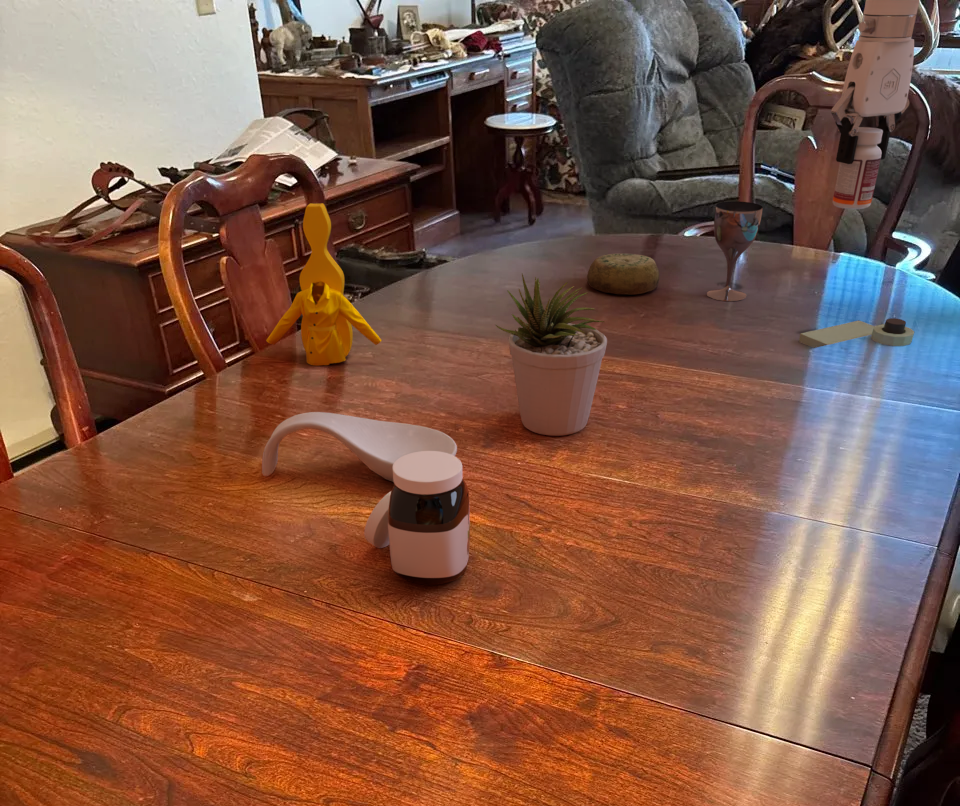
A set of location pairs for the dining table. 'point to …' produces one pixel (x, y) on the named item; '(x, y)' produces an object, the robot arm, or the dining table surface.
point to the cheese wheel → (623, 274)
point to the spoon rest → (362, 439)
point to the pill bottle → (859, 172)
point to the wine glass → (734, 239)
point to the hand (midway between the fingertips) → (860, 159)
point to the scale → (855, 335)
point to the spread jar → (424, 519)
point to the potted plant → (554, 363)
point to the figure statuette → (322, 300)
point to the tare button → (894, 326)
